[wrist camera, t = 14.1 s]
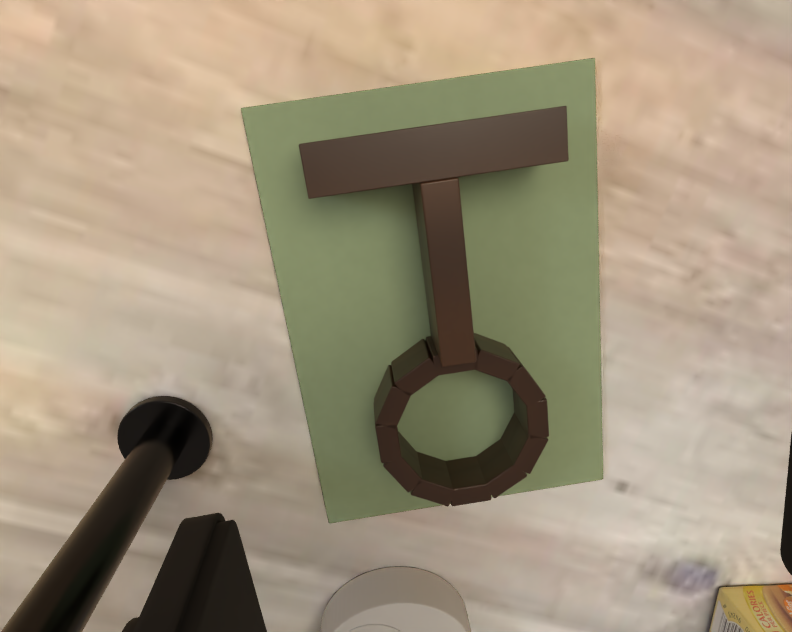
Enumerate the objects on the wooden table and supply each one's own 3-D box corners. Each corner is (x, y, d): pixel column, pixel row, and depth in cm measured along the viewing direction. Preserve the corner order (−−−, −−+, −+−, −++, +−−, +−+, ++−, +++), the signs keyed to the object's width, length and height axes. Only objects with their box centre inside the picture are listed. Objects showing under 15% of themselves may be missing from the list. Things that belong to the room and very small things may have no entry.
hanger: (554, 459, 29) (580, 500, 26) (368, 488, 29) (369, 534, 25) (537, 110, 23) (567, 105, 20) (306, 143, 23) (298, 143, 20)
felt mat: (329, 520, 30) (328, 523, 29) (242, 108, 23) (240, 108, 23) (600, 476, 30) (603, 479, 30) (592, 58, 23) (595, 57, 23)
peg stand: (136, 479, 28) (-137, 901, 12) (110, 403, 27) (-232, 771, 11) (222, 466, 28) (57, 867, 13) (200, 389, 27) (-14, 734, 11)
